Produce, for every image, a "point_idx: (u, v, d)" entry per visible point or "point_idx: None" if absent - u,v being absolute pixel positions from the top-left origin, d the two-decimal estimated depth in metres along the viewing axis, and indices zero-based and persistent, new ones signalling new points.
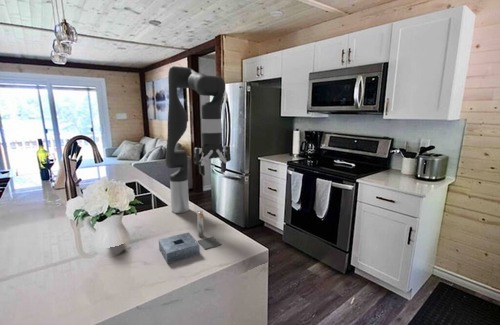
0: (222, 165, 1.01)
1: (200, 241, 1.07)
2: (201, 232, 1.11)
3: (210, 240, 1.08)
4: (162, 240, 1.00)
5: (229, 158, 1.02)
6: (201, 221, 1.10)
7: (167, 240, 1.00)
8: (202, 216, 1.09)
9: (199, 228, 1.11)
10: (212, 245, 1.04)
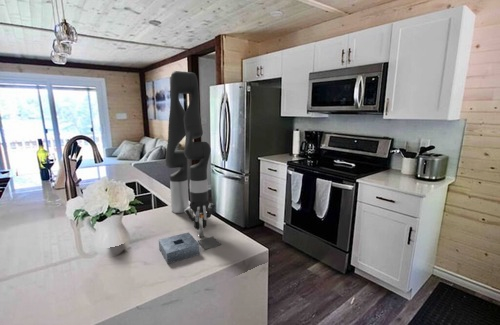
0: None
1: (200, 241, 1.07)
2: (201, 232, 1.11)
3: (210, 240, 1.08)
4: (162, 240, 1.00)
5: (209, 215, 1.12)
6: (201, 221, 1.10)
7: (167, 240, 1.00)
8: (202, 216, 1.09)
9: (199, 228, 1.11)
10: (212, 245, 1.04)
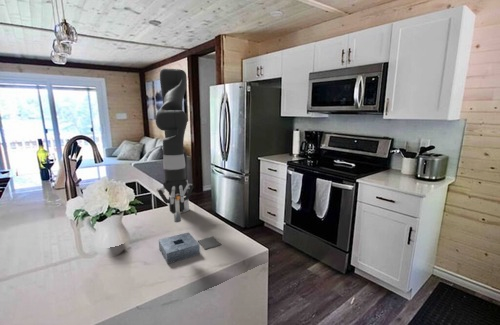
0: None
1: (200, 241, 1.07)
2: (178, 216, 0.96)
3: (210, 240, 1.08)
4: (162, 240, 1.00)
5: (187, 197, 0.97)
6: (177, 204, 0.95)
7: (167, 240, 1.00)
8: (178, 197, 0.94)
9: (175, 212, 0.96)
10: (212, 245, 1.04)
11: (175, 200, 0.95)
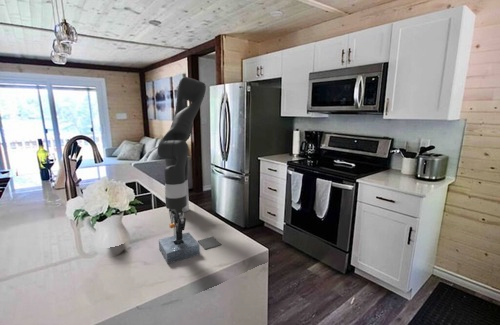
0: None
1: (200, 241, 1.07)
2: (176, 243, 0.98)
3: (210, 240, 1.08)
4: (162, 240, 1.00)
5: (177, 228, 0.94)
6: (174, 232, 0.97)
7: (167, 240, 1.00)
8: (170, 226, 0.96)
9: None
10: (212, 245, 1.04)
11: (173, 227, 0.97)
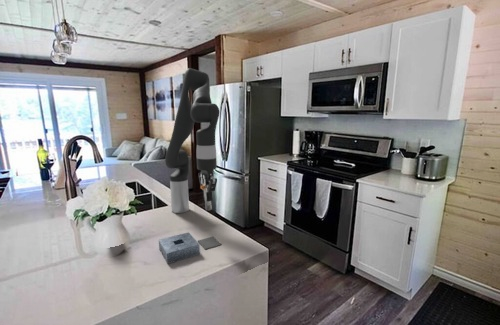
0: None
1: (200, 241, 1.07)
2: (205, 205, 1.03)
3: (210, 240, 1.08)
4: (162, 240, 1.00)
5: (208, 189, 0.98)
6: (204, 193, 1.01)
7: (167, 240, 1.00)
8: (201, 187, 1.00)
9: (205, 200, 1.03)
10: (212, 245, 1.04)
11: None
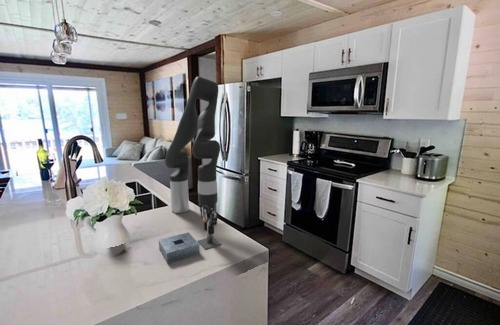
0: None
1: (200, 241, 1.07)
2: (207, 237, 1.05)
3: None
4: (162, 240, 1.00)
5: (210, 223, 1.00)
6: (207, 226, 1.04)
7: (167, 240, 1.00)
8: (205, 220, 1.03)
9: (207, 232, 1.06)
10: (212, 245, 1.04)
11: (207, 222, 1.05)
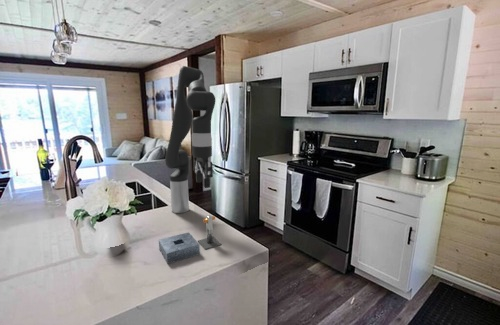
0: None
1: (200, 241, 1.07)
2: (207, 238, 1.05)
3: None
4: (162, 240, 1.00)
5: (206, 175, 0.97)
6: (207, 226, 1.04)
7: (167, 240, 1.00)
8: (204, 221, 1.03)
9: None
10: (212, 245, 1.04)
11: None
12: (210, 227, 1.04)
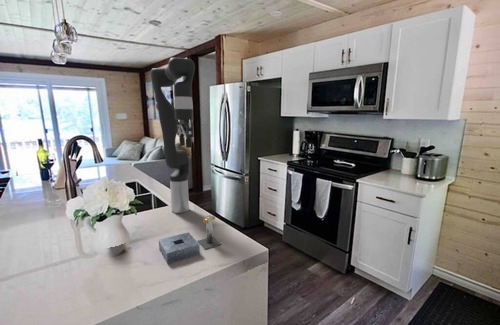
0: None
1: (200, 241, 1.07)
2: (207, 238, 1.05)
3: None
4: (162, 240, 1.00)
5: (187, 134, 1.05)
6: (207, 226, 1.04)
7: (167, 240, 1.00)
8: (204, 221, 1.03)
9: None
10: (212, 245, 1.04)
11: (206, 222, 1.05)
12: (210, 227, 1.04)
